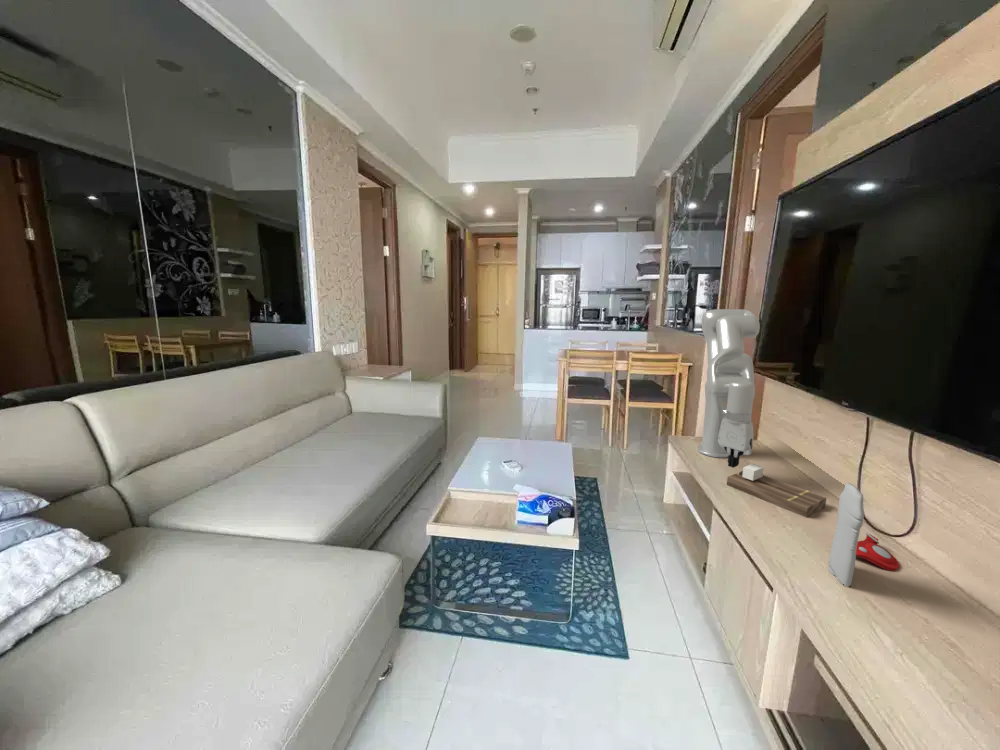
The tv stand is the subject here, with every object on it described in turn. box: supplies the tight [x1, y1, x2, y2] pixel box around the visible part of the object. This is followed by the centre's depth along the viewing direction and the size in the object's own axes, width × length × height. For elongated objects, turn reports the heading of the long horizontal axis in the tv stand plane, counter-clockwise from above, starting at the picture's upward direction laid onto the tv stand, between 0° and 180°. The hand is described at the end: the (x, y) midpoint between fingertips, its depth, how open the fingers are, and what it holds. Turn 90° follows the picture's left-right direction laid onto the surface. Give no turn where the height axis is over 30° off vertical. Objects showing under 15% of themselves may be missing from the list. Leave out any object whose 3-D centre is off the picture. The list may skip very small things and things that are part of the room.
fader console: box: [726, 470, 827, 518], centre depth 132 cm, size 12×24×3 cm, turn 30°
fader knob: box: [742, 463, 765, 481], centre depth 137 cm, size 6×4×5 cm, turn 120°
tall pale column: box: [828, 482, 865, 587], centre depth 93 cm, size 11×4×22 cm, turn 157°
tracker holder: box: [856, 532, 900, 572], centre depth 102 cm, size 12×4×10 cm
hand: (732, 466), depth 143 cm, fingers closed
